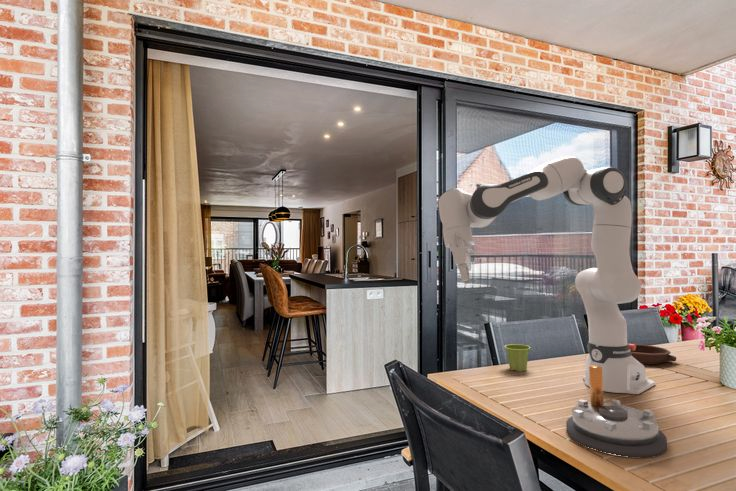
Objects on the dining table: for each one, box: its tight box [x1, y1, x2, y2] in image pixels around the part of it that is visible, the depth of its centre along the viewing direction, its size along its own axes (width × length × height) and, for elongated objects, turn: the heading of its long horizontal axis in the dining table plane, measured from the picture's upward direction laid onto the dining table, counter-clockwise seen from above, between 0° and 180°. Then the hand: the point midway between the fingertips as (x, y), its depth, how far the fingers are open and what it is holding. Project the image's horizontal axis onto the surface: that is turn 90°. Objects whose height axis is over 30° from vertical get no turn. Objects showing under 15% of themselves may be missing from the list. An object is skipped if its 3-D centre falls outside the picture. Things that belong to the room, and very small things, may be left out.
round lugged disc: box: [571, 365, 659, 445], centre depth 102 cm, size 18×18×13 cm
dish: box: [631, 344, 677, 365], centre depth 168 cm, size 18×22×5 cm
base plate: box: [565, 416, 668, 458], centre depth 102 cm, size 21×21×2 cm
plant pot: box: [504, 343, 531, 372], centre depth 161 cm, size 9×9×9 cm
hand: (466, 282), depth 129 cm, fingers open, 8 cm apart
